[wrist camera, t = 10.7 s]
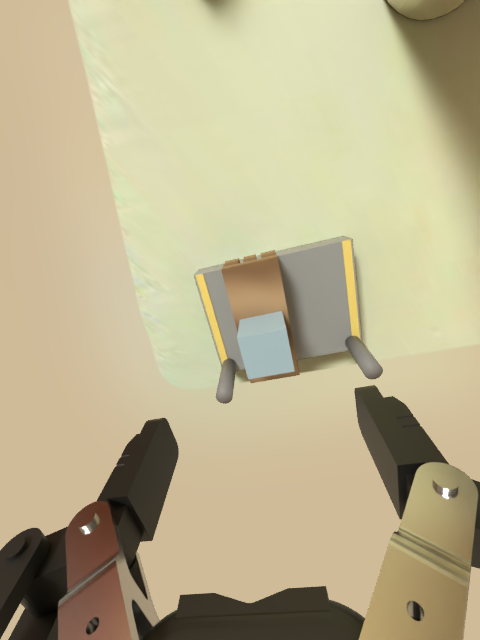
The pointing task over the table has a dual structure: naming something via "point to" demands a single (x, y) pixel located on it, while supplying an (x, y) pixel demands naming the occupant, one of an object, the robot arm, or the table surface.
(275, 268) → the pallet
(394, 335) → the table surface
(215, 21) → the table surface
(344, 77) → the table surface
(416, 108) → the table surface
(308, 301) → the dock
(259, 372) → the pale blue cube
